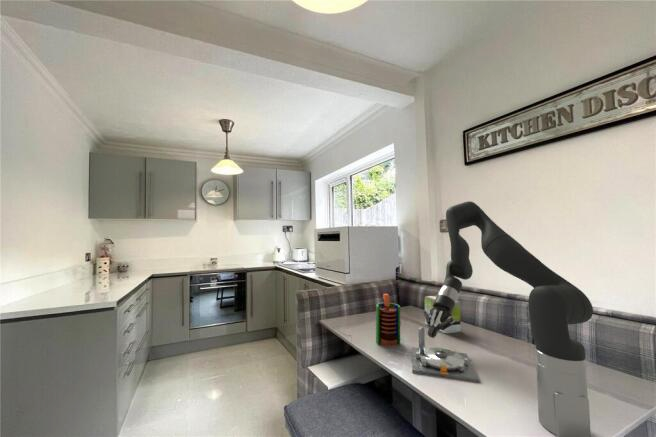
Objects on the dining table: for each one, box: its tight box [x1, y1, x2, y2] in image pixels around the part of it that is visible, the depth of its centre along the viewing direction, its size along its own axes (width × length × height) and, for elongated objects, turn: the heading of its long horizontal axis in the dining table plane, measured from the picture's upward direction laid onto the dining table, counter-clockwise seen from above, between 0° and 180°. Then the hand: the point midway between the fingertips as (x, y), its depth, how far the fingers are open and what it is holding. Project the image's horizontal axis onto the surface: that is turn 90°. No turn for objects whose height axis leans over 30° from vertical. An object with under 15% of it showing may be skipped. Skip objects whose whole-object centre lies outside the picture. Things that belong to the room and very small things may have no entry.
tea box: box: [424, 295, 462, 334], centre depth 137 cm, size 15×10×15 cm
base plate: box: [411, 346, 480, 383], centre depth 97 cm, size 20×20×1 cm
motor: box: [375, 293, 401, 347], centre depth 118 cm, size 10×9×20 cm
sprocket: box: [416, 326, 468, 372], centre depth 97 cm, size 17×17×10 cm
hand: (430, 336), depth 104 cm, fingers closed
